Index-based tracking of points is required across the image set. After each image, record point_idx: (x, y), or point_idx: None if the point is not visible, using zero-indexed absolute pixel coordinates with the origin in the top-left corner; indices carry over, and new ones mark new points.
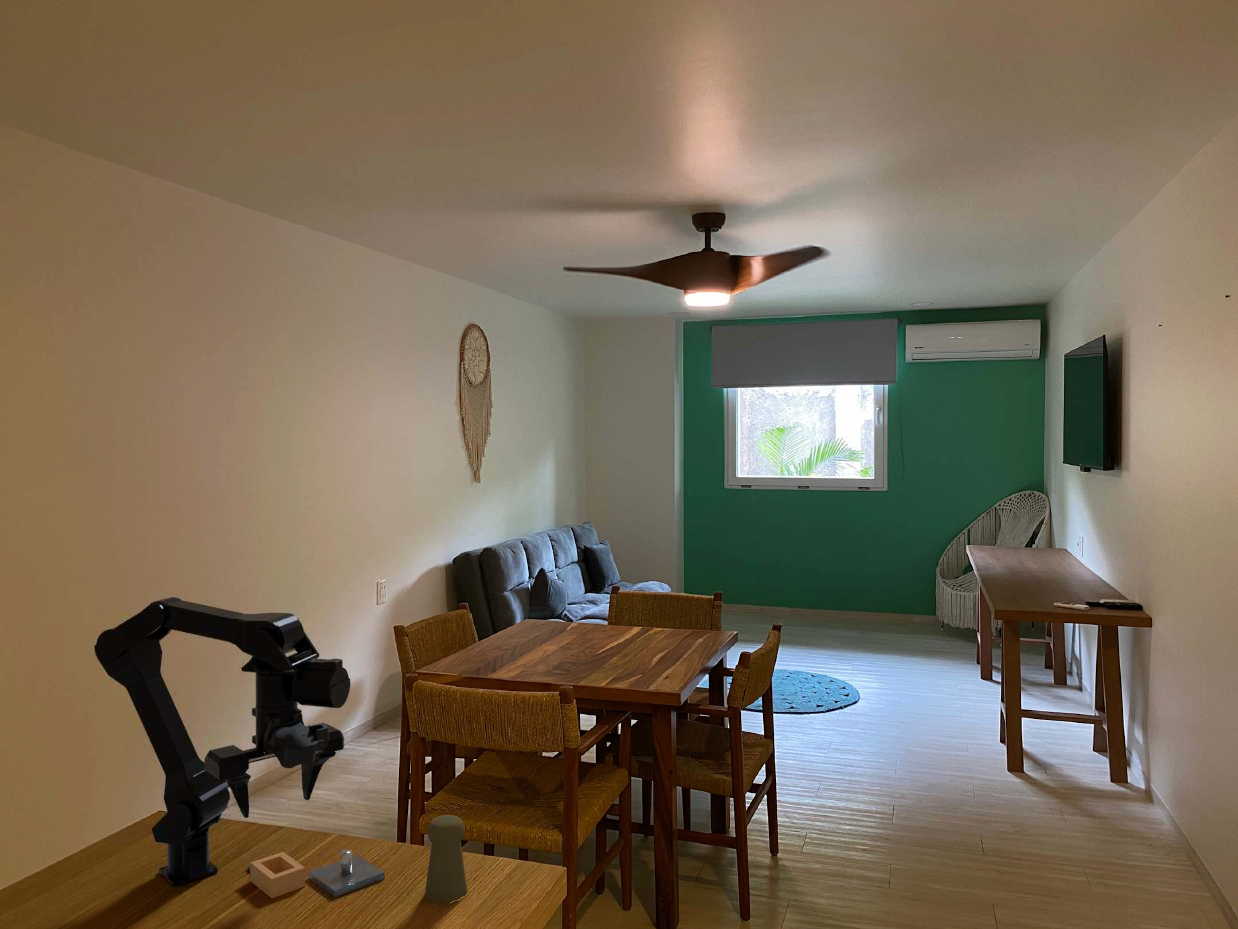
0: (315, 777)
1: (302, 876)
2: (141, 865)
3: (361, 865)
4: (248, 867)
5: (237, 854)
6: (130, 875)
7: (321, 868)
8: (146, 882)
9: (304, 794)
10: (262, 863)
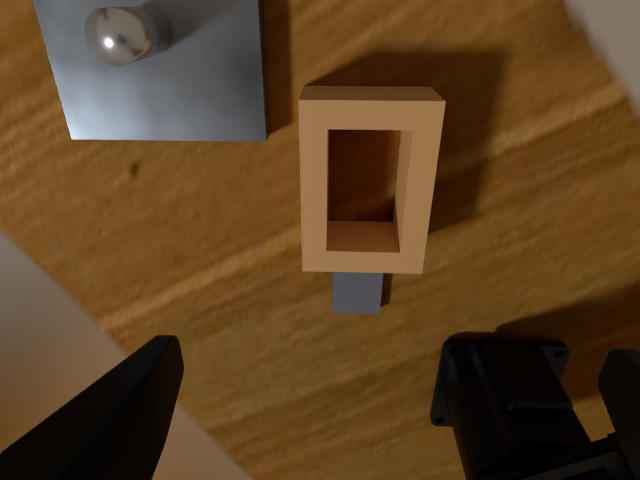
0: (8, 466)
1: (311, 93)
2: None
3: (79, 38)
4: (379, 308)
5: (355, 388)
6: None
7: (218, 130)
8: (583, 399)
9: (172, 386)
10: (390, 249)
